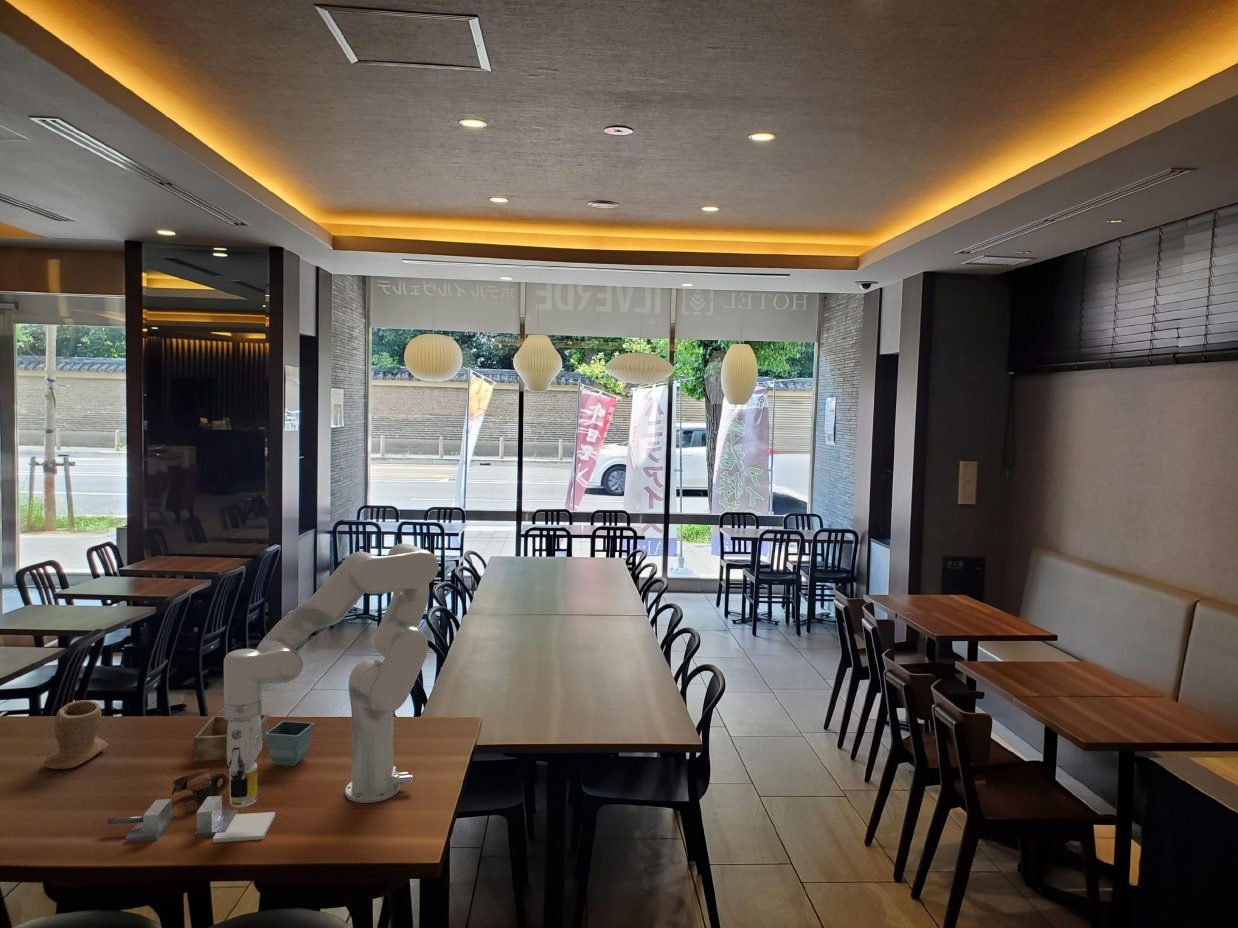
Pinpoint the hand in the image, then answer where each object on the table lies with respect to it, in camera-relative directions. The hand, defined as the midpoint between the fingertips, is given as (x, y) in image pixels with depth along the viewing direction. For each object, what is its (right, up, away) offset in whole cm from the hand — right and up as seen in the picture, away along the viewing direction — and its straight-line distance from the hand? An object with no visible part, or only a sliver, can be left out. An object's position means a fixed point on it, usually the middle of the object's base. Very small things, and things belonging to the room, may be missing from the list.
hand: (243, 788), depth 174 cm
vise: (-16, -9, 0) cm, 18 cm away
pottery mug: (-16, -8, +13) cm, 22 cm away
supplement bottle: (0, -3, 0) cm, 3 cm away
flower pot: (-4, -7, +34) cm, 34 cm away
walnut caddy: (-22, -6, +41) cm, 47 cm away
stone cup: (-57, -6, +33) cm, 66 cm away
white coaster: (0, -9, +1) cm, 9 cm away
